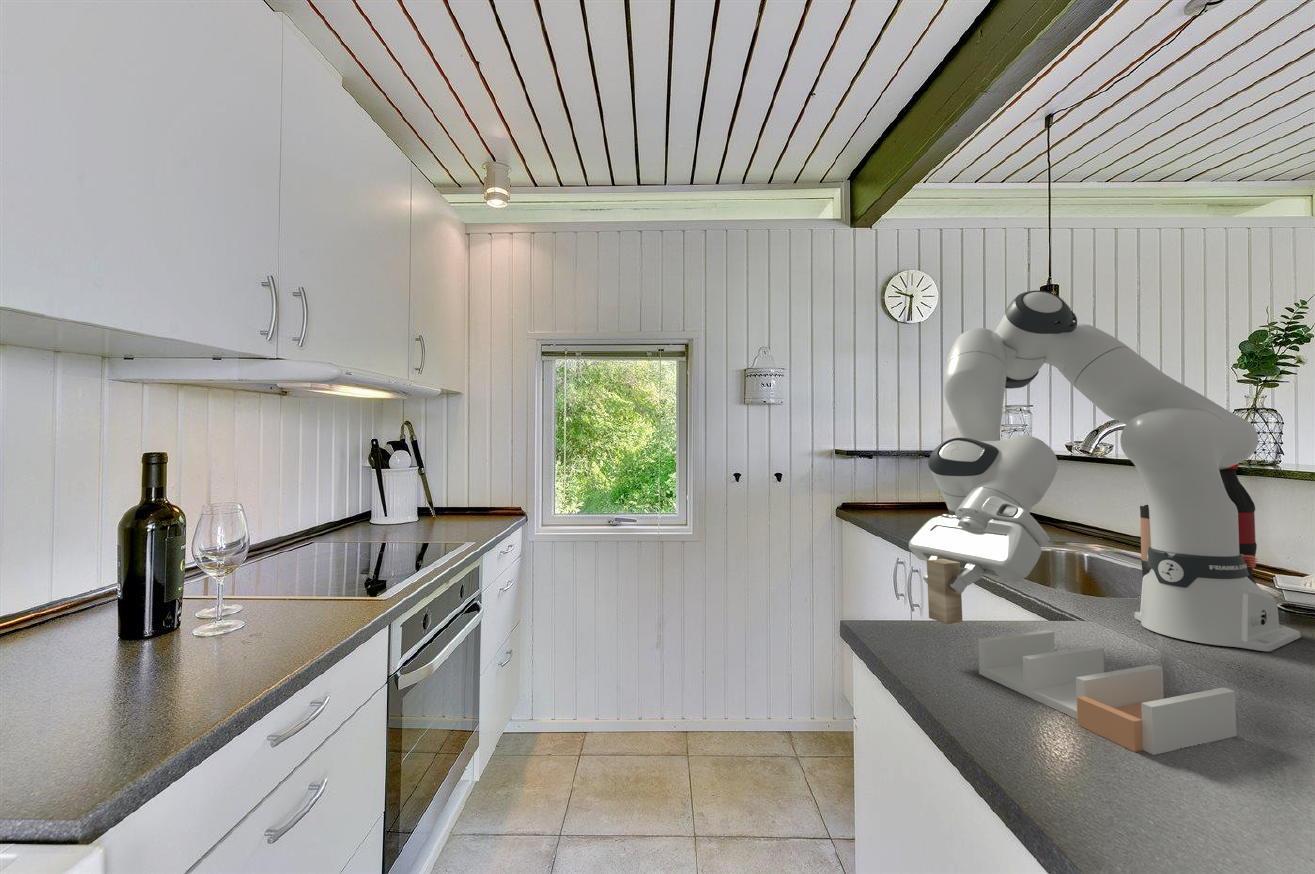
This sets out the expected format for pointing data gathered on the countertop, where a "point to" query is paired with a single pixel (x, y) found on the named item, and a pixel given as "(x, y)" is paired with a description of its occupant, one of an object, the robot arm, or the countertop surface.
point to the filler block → (943, 591)
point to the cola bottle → (1241, 513)
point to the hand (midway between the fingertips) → (940, 586)
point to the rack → (1107, 694)
